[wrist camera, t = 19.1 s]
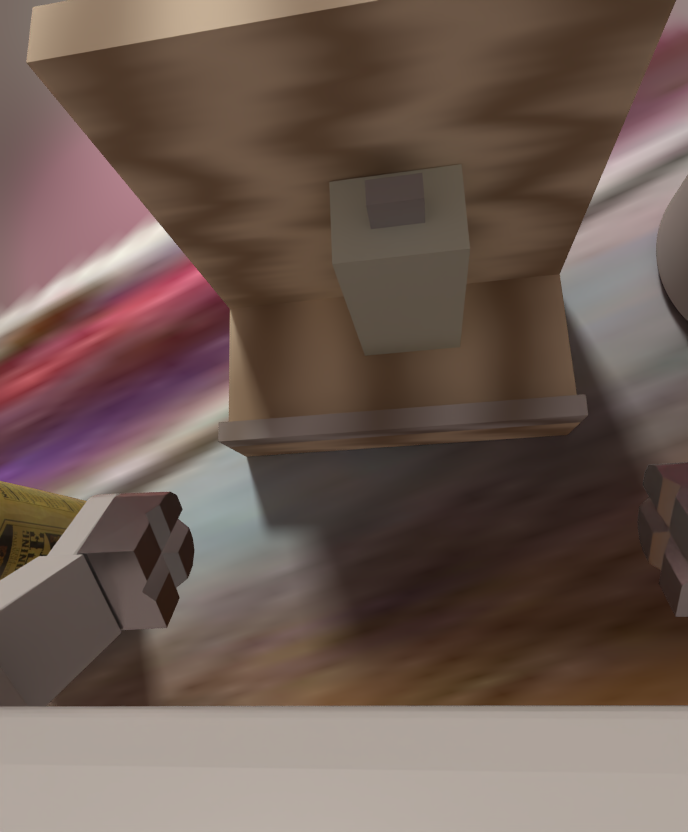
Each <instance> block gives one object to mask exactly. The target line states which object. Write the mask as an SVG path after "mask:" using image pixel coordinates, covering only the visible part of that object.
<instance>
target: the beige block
mask: <svg viewBox="0 0 688 832" xmlns="http://www.w3.org/2000/svg"><path fill="white" fill-rule="evenodd" d="M329 189H330V216H331V244H332V265H333V268H334V271H335V273H336V276H337V279H338V282H339V285H340V287H341V290H342V293H343V296H344V299H345V301H346V304H347V307H348V310H349V312H350V315H351V318H352V321H353V324H354V326H355V329H356V332H357V335H358V338H359V340H360V343H361V346H362V349H363V352H364V354H365V356H367V355H378V354H389V353H401V352H412V351H423V350H434V349H445V348H456V347H460V342H461V332H462V322H463V313H464V303H465V293H466V284H467V274H468V264H469V255H470V242H469V233H468V223H467V213H466V203H465V193H464V184H463V174H462V164H458V165H451V166H444V167H436V168H429V169H421V170H414V171H406V172H399V173H391V174H384V175H376V176H369V177H361V178H354V179H346V180H339V181H331V182H329Z"/></svg>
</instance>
